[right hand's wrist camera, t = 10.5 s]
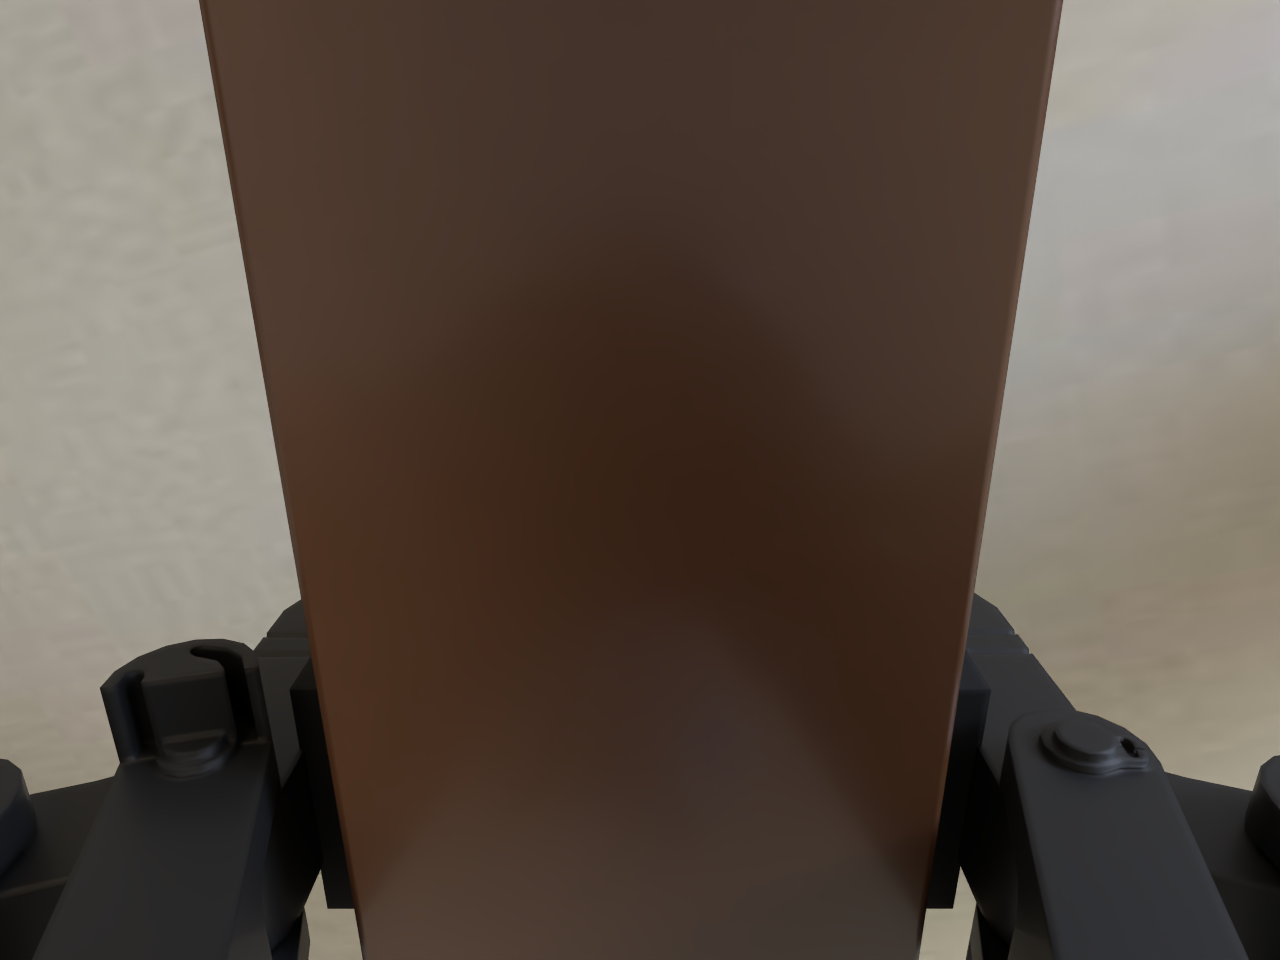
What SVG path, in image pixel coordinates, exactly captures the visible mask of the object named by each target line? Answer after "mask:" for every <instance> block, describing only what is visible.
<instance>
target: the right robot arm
mask: <svg viewBox="0 0 1280 960" xmlns="http://www.w3.org/2000/svg"><path fill="white" fill-rule="evenodd" d="M100 691H101V694H102V698H103V702H104V705H105V709H106V713H107V717H108V720H109V724H110V728H111V731H112V735H113V739H114V742H115V746H116V750H117V754H118V757H119V761H120V764H119V767H118V769H117V771H116V773H115V775H114V776H113V777H109V778H105V779H102V780H98V781H94V782H89V783H84V784H79V785H75V786H70V787H65V788H60V789H55V790H50V791H46V792H41V793H36V794H31V795H29V793H28V790H27V786H26V783H25V780H24V777H23V774H22V771H21V769H19V768H18V767H17V766H15V765H14V764H13V763H11V762H10V761H9V760H5V759H0V960H308V956H309V947H310V938H309V931H308V924H307V919H306V913H305V908H304V906H305V903H306V901H307V899H308V897H309V894H310V892H311V890H312V888H313V885H314V883H315V881H316V878H317V876H318V874H319V872H320V869H321V873H322V879H323V885H324V890H325V896H326V902H327V907H328V909H354V904H353V898H352V892H351V886H350V880H349V874H348V869H347V863H346V857H345V851H344V845H343V839H342V833H341V828H340V822H339V816H338V810H337V804H336V798H335V793H334V787H333V781H332V775H331V769H330V763H329V757H328V752H327V746H326V740H325V734H324V728H323V722H322V717H321V711H320V705H319V699H318V693H317V687H316V681H315V676H314V670H313V664H312V658H311V652H310V646H309V640H308V635H307V629H306V623H305V617H304V611H303V605H302V600H299V601H298V602H296V603H295V604H293V605H292V606H290V607H289V608H287V609H285V610H284V611H283V613H282V614H281V615H280V617H279V618H278V619H277V620H276V622H275V623H274V624H273V626H272V627H271V628H270V630H269V631H268V632H267V637H264V638H263V639H262V640H261V641H260V643H259V644H258V645H257V647H256V648H255V649H254V651H253V650H252V649H250V648H249V647H248V646H247V645H245V644H244V643H240V642H235V641H230V640H226V639H202V640H192V641H187V642H183V643H178V644H173V645H168V646H165V647H162V648H160V649H157V650H155V651H152V652H149V653H147V654H144V655H142V656H139V657H137V658H135V659H134V660H132V661H131V662H129V663H127V664H126V665H124V666H123V667H121V668H119V669H118V670H116V671H115V672H114V673H113V674H112V675H111V676H110V677H109V678H108V679H107V681H106V682H105V683H104V684H103V685H102V686H101V687H100ZM960 866H961V868H962V870H963V873H964V875H965V877H966V879H967V882H968V884H969V886H970V888H971V891H972V893H973V895H974V897H975V900H976V902H977V903H976V908H975V913H974V919H973V924H972V929H971V935H970V940H969V945H968V951H967V956H966V960H1280V755H1279V756H1274V757H1272V758H1271V759H1270V760H1268V761H1267V762H1266V763H1264V764H1263V765H1262V766H1261V767H1260V770H1259V773H1258V777H1257V780H1256V783H1255V786H1254V789H1253V791H1249V790H1244V789H1239V788H1234V787H1229V786H1224V785H1219V784H1215V783H1210V782H1205V781H1200V780H1195V779H1190V778H1185V777H1182V776H1178V775H1174V774H1171V773H1167V772H1164V769H1163V767H1162V765H1161V763H1160V761H1159V760H1158V759H1157V757H1156V756H1155V755H1154V753H1153V752H1152V751H1151V749H1150V748H1149V747H1148V745H1147V744H1146V743H1144V742H1143V741H1142V740H1140V739H1139V738H1138V737H1136V736H1135V735H1133V734H1132V733H1131V732H1129V731H1128V730H1127V729H1125V728H1123V727H1121V726H1119V725H1117V724H1114V723H1112V722H1110V721H1108V720H1105V719H1103V718H1101V717H1099V716H1096V715H1092V714H1088V713H1083V712H1079V711H1076V710H1075V708H1074V707H1073V706H1072V705H1071V703H1070V702H1069V701H1068V699H1067V698H1066V697H1065V695H1064V694H1063V693H1062V692H1061V690H1060V689H1059V688H1058V686H1057V685H1056V684H1055V682H1054V681H1053V680H1052V678H1051V677H1050V676H1049V675H1048V673H1047V672H1046V671H1045V669H1044V668H1043V667H1042V665H1041V664H1040V663H1039V662H1038V660H1037V659H1036V658H1035V656H1034V655H1033V654H1029V649H1028V647H1027V646H1026V645H1025V643H1024V642H1023V641H1022V639H1021V638H1020V637H1019V636H1018V635H1015V634H1014V629H1013V628H1012V626H1011V625H1010V624H1009V623H1008V621H1007V620H1006V619H1005V617H1004V616H1003V615H1002V613H1001V612H1000V611H999V610H998V608H997V607H995V606H994V605H992V604H991V603H989V602H988V601H986V600H984V599H983V598H981V597H980V596H978V595H977V594H975V593H974V595H973V601H972V608H971V615H970V621H969V628H968V635H967V641H966V648H965V654H964V661H963V668H962V674H961V681H960V688H959V694H958V701H957V708H956V714H955V721H954V727H953V734H952V741H951V747H950V754H949V761H948V767H947V774H946V781H945V787H944V794H943V800H942V807H941V814H940V820H939V827H938V834H937V840H936V847H935V854H934V860H933V867H932V873H931V880H930V887H929V893H928V900H927V907H926V909H953V905H954V900H955V894H956V888H957V882H958V877H959V871H960Z"/></svg>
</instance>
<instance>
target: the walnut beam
mask: <svg viewBox="0 0 1280 960" xmlns="http://www.w3.org/2000/svg"><path fill="white" fill-rule="evenodd" d="M199 3H200V9H201V15H202V21H203V26H204V32H205V38H206V44H207V50H208V56H209V61H210V67H211V73H212V79H213V85H214V91H215V97H216V102H217V108H218V114H219V120H220V126H221V132H222V138H223V143H224V149H225V155H226V161H227V167H228V173H229V178H230V184H231V190H232V196H233V202H234V208H235V214H236V219H237V225H238V231H239V237H240V243H241V249H242V254H243V260H244V266H245V272H246V278H247V284H248V290H249V295H250V301H251V307H252V313H253V319H254V325H255V331H256V336H257V342H258V348H259V354H260V360H261V366H262V371H263V377H264V383H265V389H266V395H267V401H268V407H269V412H270V418H271V424H272V430H273V436H274V442H275V447H276V453H277V459H278V465H279V471H280V477H281V483H282V488H283V494H284V500H285V506H286V512H287V518H288V524H289V529H290V535H291V541H292V547H293V553H294V559H295V564H296V570H297V576H298V582H299V588H300V594H301V600H302V605H303V611H304V617H305V623H306V629H307V635H308V640H309V646H310V652H311V658H312V664H313V670H314V676H315V681H316V687H317V693H318V699H319V705H320V711H321V717H322V722H323V728H324V734H325V740H326V746H327V752H328V757H329V763H330V769H331V775H332V781H333V787H334V793H335V798H336V804H337V810H338V816H339V822H340V828H341V833H342V839H343V845H344V851H345V857H346V863H347V869H348V874H349V880H350V886H351V892H352V898H353V904H354V910H355V915H356V921H357V927H358V933H359V939H360V945H361V950H362V956H363V960H919V953H920V946H921V940H922V933H923V927H924V920H925V913H926V907H927V900H928V893H929V887H930V880H931V873H932V867H933V860H934V854H935V847H936V840H937V834H938V827H939V820H940V814H941V807H942V800H943V794H944V787H945V781H946V774H947V767H948V761H949V754H950V747H951V741H952V734H953V727H954V721H955V714H956V708H957V701H958V694H959V688H960V681H961V674H962V668H963V661H964V654H965V648H966V641H967V635H968V628H969V621H970V615H971V608H972V601H973V595H974V588H975V581H976V575H977V568H978V562H979V555H980V548H981V542H982V535H983V528H984V522H985V515H986V508H987V502H988V495H989V489H990V482H991V475H992V469H993V462H994V455H995V449H996V442H997V435H998V429H999V422H1000V416H1001V409H1002V402H1003V396H1004V389H1005V382H1006V376H1007V369H1008V362H1009V356H1010V349H1011V343H1012V336H1013V329H1014V323H1015V316H1016V309H1017V303H1018V296H1019V290H1020V283H1021V276H1022V270H1023V263H1024V256H1025V250H1026V243H1027V236H1028V230H1029V223H1030V217H1031V210H1032V203H1033V197H1034V190H1035V183H1036V177H1037V170H1038V163H1039V157H1040V150H1041V144H1042V137H1043V130H1044V124H1045V117H1046V110H1047V104H1048V97H1049V90H1050V84H1051V77H1052V71H1053V64H1054V57H1055V51H1056V44H1057V37H1058V31H1059V24H1060V17H1061V11H1062V4H1063V0H199Z"/></svg>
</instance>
